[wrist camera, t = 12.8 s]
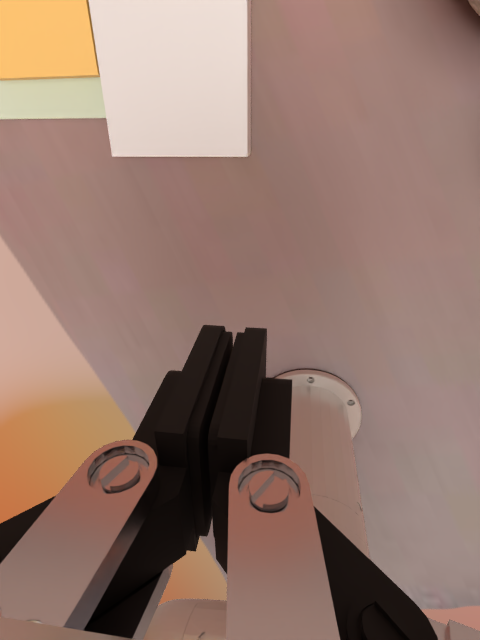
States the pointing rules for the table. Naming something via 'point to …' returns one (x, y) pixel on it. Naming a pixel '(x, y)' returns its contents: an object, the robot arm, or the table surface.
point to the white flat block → (175, 76)
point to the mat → (52, 98)
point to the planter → (475, 5)
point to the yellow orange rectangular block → (46, 40)
